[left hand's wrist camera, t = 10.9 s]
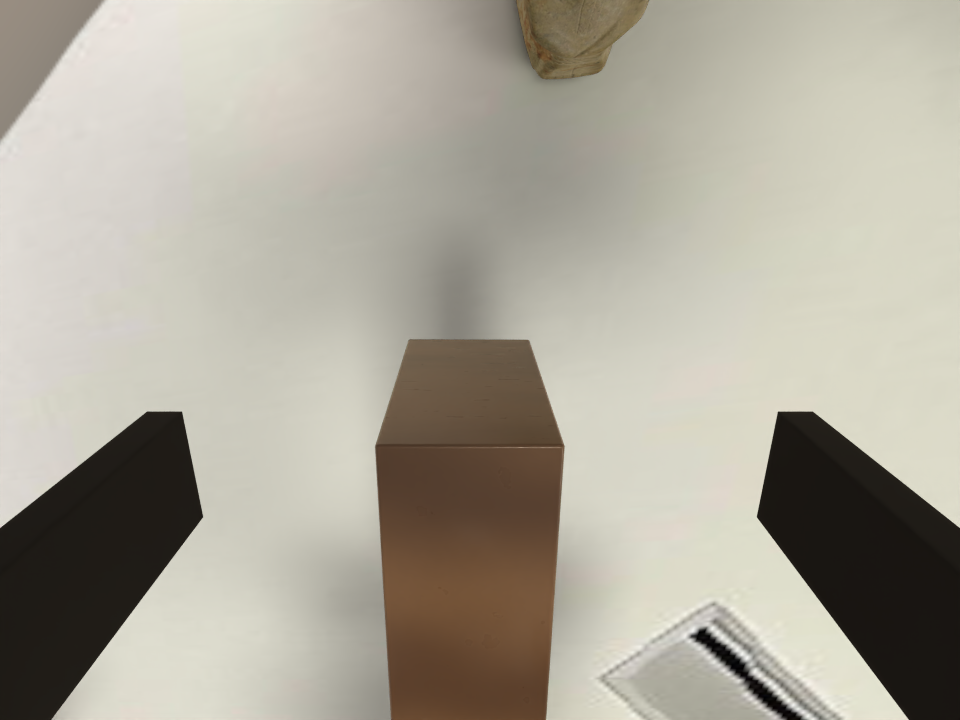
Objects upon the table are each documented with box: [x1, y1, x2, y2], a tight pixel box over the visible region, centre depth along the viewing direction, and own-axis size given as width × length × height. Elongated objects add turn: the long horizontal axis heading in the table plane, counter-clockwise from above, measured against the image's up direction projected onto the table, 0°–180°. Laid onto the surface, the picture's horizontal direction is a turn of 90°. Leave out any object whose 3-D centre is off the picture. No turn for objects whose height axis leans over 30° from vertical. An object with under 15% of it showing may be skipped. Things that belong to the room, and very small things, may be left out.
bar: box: [375, 339, 565, 720], centre depth 24 cm, size 27×5×9 cm, turn 179°
